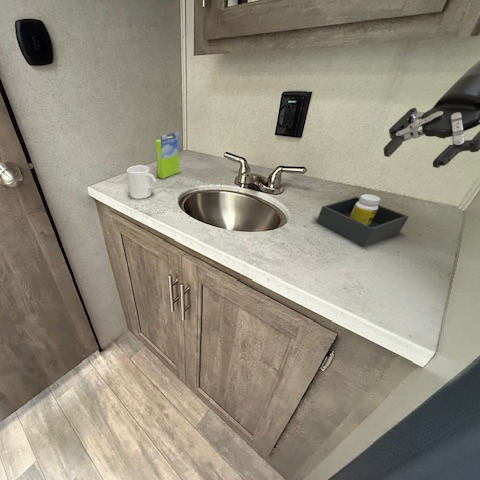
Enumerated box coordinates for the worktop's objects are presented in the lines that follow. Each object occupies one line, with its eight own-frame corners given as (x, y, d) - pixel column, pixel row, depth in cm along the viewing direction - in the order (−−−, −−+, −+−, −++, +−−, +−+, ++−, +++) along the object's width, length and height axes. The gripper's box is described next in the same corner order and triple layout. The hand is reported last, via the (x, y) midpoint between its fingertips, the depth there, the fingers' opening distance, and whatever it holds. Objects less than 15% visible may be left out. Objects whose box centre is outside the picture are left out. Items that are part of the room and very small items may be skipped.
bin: (349, 211, 73) (356, 196, 70) (398, 233, 63) (409, 216, 60) (316, 222, 69) (322, 206, 66) (363, 247, 59) (372, 229, 56)
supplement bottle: (367, 232, 63) (382, 203, 58) (345, 227, 65) (358, 198, 61) (368, 224, 66) (383, 195, 61) (347, 219, 68) (360, 191, 64)
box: (173, 170, 112) (172, 130, 102) (180, 172, 109) (179, 131, 99) (156, 177, 106) (153, 135, 96) (162, 179, 103) (160, 136, 94)
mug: (149, 203, 85) (147, 176, 80) (125, 195, 92) (122, 170, 86) (163, 195, 90) (162, 169, 85) (140, 188, 97) (137, 163, 91)
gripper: (432, 73, 49) (368, 140, 52) (545, 71, 38) (455, 156, 41) (433, 101, 53) (374, 161, 57) (534, 106, 42) (454, 180, 46)
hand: (408, 159), depth 49 cm, fingers open, 8 cm apart
